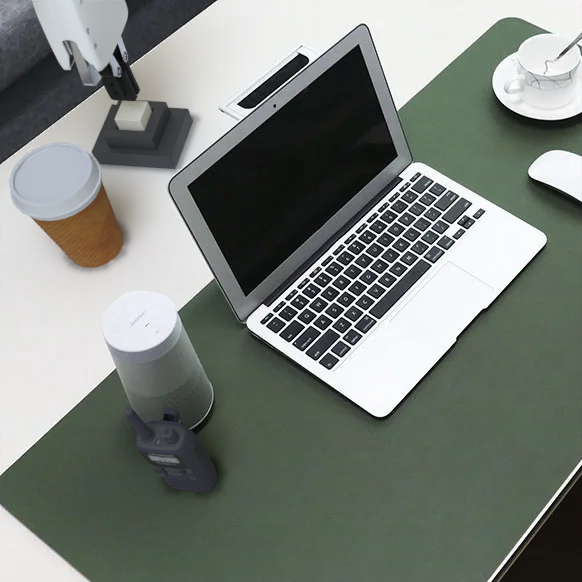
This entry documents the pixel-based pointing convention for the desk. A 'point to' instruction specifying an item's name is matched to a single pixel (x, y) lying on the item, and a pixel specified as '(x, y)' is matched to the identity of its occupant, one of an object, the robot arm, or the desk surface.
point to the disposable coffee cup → (68, 202)
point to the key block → (144, 139)
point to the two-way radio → (174, 451)
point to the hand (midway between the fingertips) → (125, 95)
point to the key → (133, 115)
